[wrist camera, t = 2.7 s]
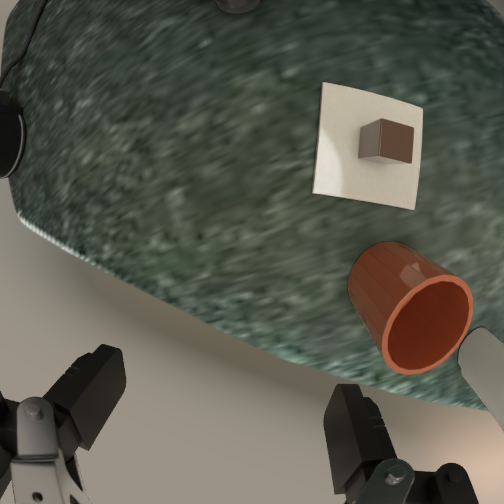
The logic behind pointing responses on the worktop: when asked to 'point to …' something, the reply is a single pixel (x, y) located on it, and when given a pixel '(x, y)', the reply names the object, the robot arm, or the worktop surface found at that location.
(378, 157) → the lid
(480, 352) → the paper towel roll
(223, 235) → the worktop surface
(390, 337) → the tumbler
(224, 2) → the beverage cup
